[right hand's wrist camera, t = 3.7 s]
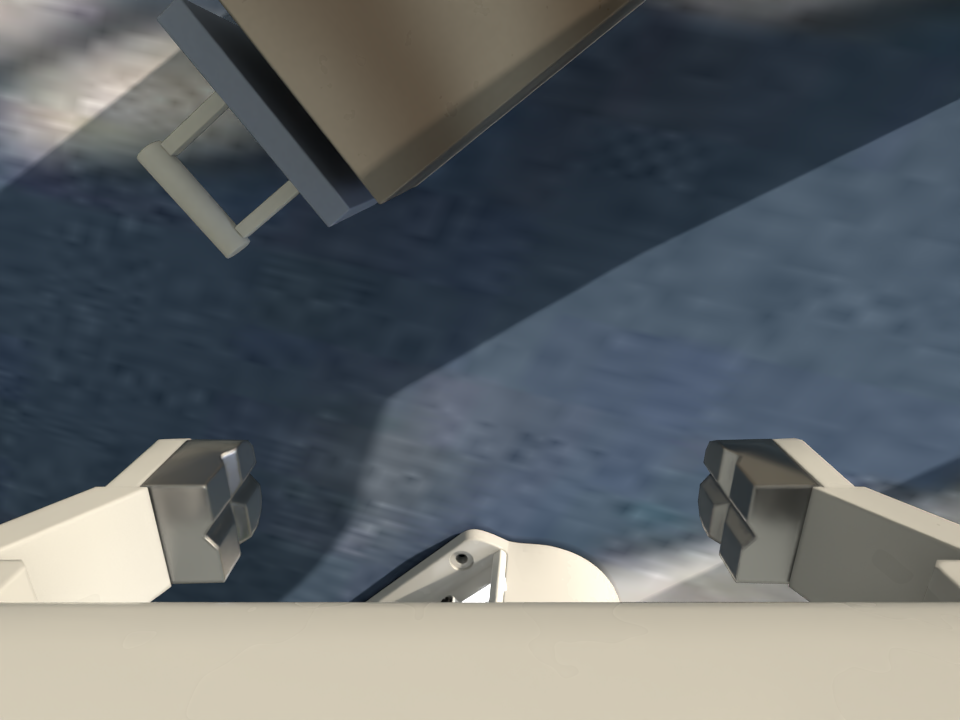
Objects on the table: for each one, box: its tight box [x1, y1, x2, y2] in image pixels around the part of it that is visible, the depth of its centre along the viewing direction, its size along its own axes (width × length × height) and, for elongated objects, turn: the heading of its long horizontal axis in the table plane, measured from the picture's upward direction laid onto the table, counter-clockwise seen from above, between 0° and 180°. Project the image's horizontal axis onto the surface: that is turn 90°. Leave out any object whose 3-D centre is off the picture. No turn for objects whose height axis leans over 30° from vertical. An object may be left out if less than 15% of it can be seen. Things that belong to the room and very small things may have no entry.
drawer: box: [137, 0, 377, 258], centre depth 24 cm, size 26×9×10 cm, turn 127°
